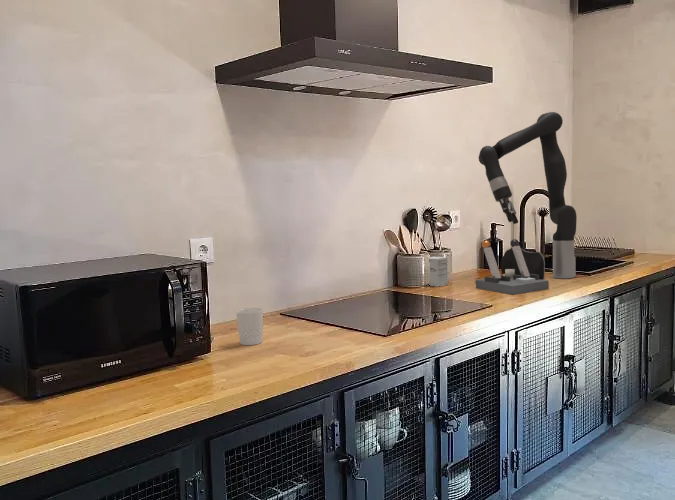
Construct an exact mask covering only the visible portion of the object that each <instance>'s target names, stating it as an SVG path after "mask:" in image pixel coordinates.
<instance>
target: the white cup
mask: <svg viewBox="0 0 675 500" xmlns="http://www.w3.org/2000/svg"><path fill="white" fill-rule="evenodd" d="M235 312H236V319H237V329H238V336H239V343H240V345H242V346H254V345H259V344H262V343H263V333H264V331H263V329H264V326H263V325H264V324H263V323H264V321H263V320H264V319H263V317H264V316H263V312H264V311H263V308H259V307H247V308H240V309H237V310H236V311H235Z"/></svg>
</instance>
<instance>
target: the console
mask: <svg viewBox="0 0 675 500" xmlns="http://www.w3.org/2000/svg"><path fill="white" fill-rule="evenodd" d="M529 275H530V276H531V278H529V277H528V276H521V275H513V278H510V276H505V274H500V276H501V277H502V280H499V278H495V277H492V276H484V278H479V279H475V289H479V290H485V291H491V292H495V293H496V292H497V293H502V294H507V295H512V296H513V295H520V294H526V293H532V292H538V291H545V290H549V289H550V288H549V286H550V284H549V280H545V279H544V280H541V279H539V275H536V274H529Z"/></svg>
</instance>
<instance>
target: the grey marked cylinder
mask: <svg viewBox="0 0 675 500" xmlns="http://www.w3.org/2000/svg"><path fill="white" fill-rule="evenodd" d="M429 257H430V258H429V263H430V279H429V285H430V287H436V288H439V286H440V287H444V285H445V286H448V285H449V284H448V277H449V276H448V257H446V256H437V257H436V256H429ZM429 285H428V286H429Z"/></svg>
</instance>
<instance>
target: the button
mask: <svg viewBox="0 0 675 500" xmlns="http://www.w3.org/2000/svg"><path fill="white" fill-rule="evenodd" d="M513 275H515V269H505V274H504V276H510V278H513Z"/></svg>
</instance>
